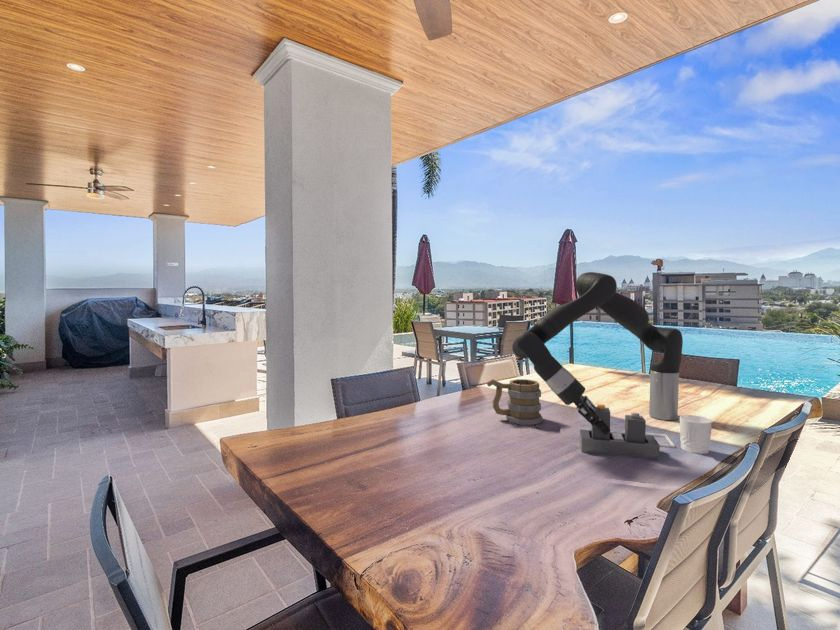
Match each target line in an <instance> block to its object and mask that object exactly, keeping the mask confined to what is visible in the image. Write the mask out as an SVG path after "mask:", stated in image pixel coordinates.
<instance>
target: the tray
mask: <svg viewBox="0 0 840 630" xmlns="http://www.w3.org/2000/svg"><path fill="white" fill-rule="evenodd" d="M645 435H651V436H654V437H662V438H665V439H666V441H667V442H668V443H669V444H668V443H667V444H666V443H665V444H664V443H658V444H659V445H660V447H664V448H673V449H675V448H676V445H675V444H674V442H673V441H672V440H671V439H670V437H669V436H668V435H667V434H665V433H653V432H645Z"/></svg>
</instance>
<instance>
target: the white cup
mask: <svg viewBox="0 0 840 630" xmlns="http://www.w3.org/2000/svg"><path fill="white" fill-rule="evenodd" d="M712 423H713V420H712V419H711V418H707V417H706V416H700V415H694V414H683V415H680V416H679V438H680V439H679V441H680V448H681V449H682V450H683V451H686V452H688V453H689V452H690V453H693V454H701V455H704V454H709V451H710V445H711V438H712V437H711V435H712V425H713V424H712Z"/></svg>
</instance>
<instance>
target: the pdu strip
mask: <svg viewBox="0 0 840 630" xmlns="http://www.w3.org/2000/svg"><path fill="white" fill-rule="evenodd" d="M591 437H592V429H591V430H590V429H579V445H580V450H581V451H580V452H581V453H586V454H587V453H588V454H597V455H606V456H608V455H609V456H617V457H626V458H627V457H628V458H629V457H630V458H638V459H639V458H640V459H645V460H646V459H648V460H658V461H660V451H661V449H660V445H659V444H660V443H659V442H658V441H657V439H656V438H655V436H651V435H645V443H640V442H629V441H625V432H616V431H615V432H614V431H613V432H612V431H610V440H607V439H596V438H591Z"/></svg>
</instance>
